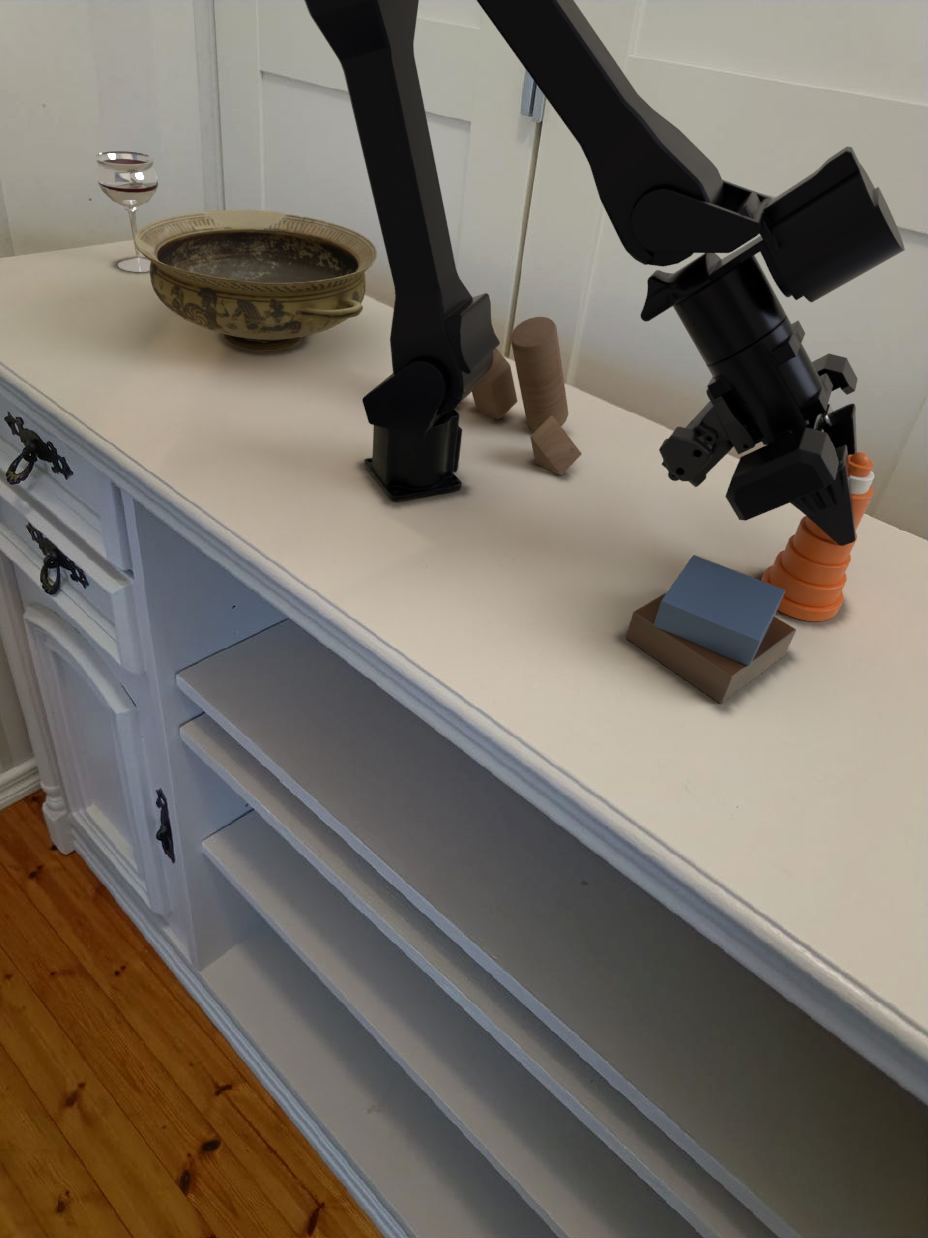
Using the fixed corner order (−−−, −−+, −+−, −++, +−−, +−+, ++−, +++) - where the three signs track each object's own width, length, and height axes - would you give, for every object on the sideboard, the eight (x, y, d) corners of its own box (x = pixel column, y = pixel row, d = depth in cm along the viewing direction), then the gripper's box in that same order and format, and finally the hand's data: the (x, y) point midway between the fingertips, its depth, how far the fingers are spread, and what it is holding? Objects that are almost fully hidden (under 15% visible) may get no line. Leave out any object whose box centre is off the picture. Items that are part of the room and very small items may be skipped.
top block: (749, 667, 54) (760, 641, 53) (652, 626, 56) (661, 600, 55) (775, 614, 59) (785, 589, 57) (685, 579, 61) (693, 553, 60)
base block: (720, 704, 55) (731, 677, 53) (625, 638, 59) (632, 611, 57) (785, 655, 59) (797, 629, 58) (691, 597, 63) (700, 571, 62)
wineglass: (135, 252, 109) (120, 147, 101) (179, 264, 107) (168, 158, 99) (97, 265, 104) (79, 156, 96) (143, 278, 102) (128, 167, 94)
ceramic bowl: (437, 364, 91) (445, 268, 85) (243, 418, 78) (236, 309, 71) (278, 277, 107) (275, 191, 101) (93, 310, 93) (76, 212, 87)
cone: (798, 629, 62) (866, 482, 54) (742, 581, 66) (798, 438, 58) (855, 611, 64) (928, 468, 56) (798, 566, 68) (859, 426, 60)
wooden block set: (422, 421, 86) (394, 337, 78) (477, 369, 88) (456, 283, 80) (563, 489, 77) (549, 402, 68) (620, 429, 79) (613, 339, 71)
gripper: (672, 355, 68) (765, 513, 72) (604, 448, 55) (723, 637, 59) (807, 278, 61) (900, 458, 65) (767, 363, 48) (888, 584, 52)
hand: (850, 530), depth 60 cm, fingers closed on cone, 3 cm apart
